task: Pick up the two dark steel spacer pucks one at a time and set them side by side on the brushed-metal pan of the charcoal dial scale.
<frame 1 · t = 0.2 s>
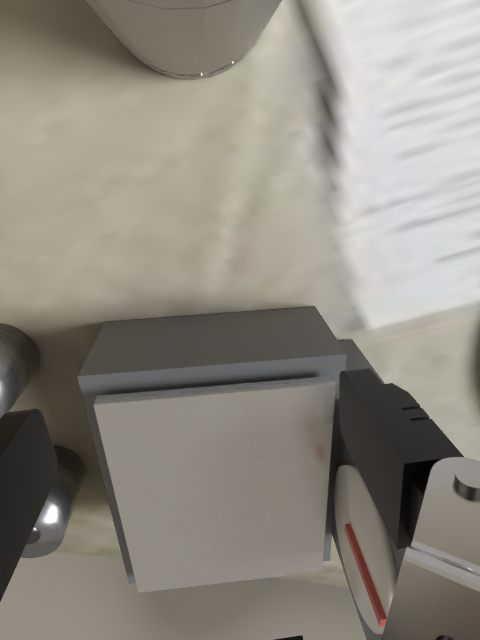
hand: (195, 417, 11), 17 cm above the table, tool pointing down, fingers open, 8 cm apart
steel spacer 1: (53, 468, 33), on the table
scale: (219, 415, 32), on the table
steel spacer 2: (2, 354, 29), on the table
scale pan: (224, 495, 25), point 8 cm above the table, slide at -0.1 cm
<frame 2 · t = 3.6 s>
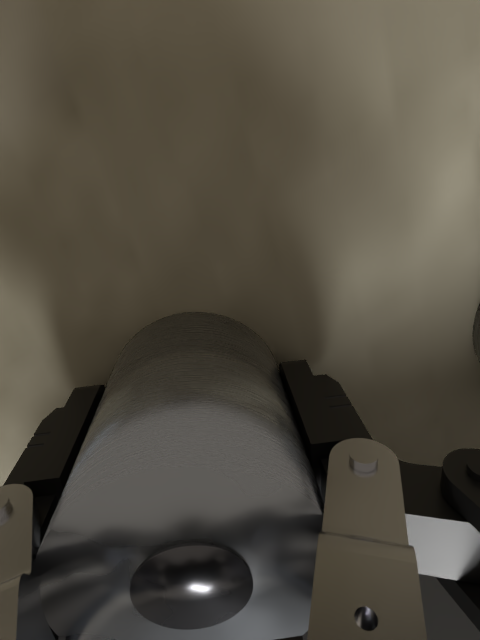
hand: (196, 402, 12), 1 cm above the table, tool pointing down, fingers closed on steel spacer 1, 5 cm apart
steel spacer 1: (197, 389, 12), on the table, touching gripper
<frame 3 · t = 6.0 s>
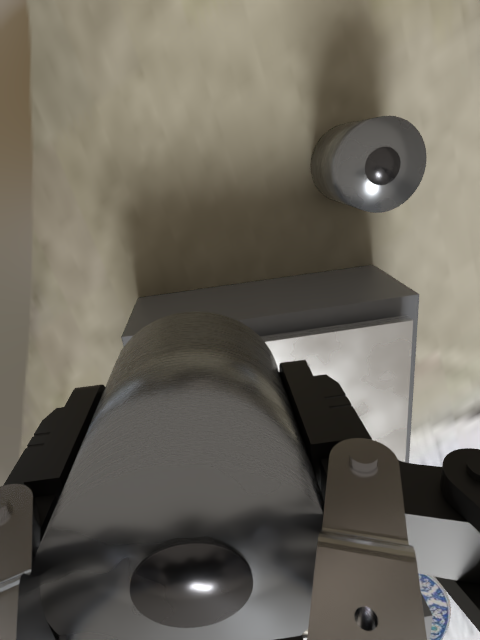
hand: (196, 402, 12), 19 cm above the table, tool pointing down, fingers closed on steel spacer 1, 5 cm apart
steel spacer 1: (197, 388, 12), point 18 cm above the table, touching gripper
scale: (266, 367, 33), on the table
steel spacer 2: (346, 163, 28), on the table
ceramic plate: (333, 615, 48), on the table
scale pan: (284, 427, 26), point 8 cm above the table, slide at -0.1 cm
when the fingers open (11 cm above the table, at t = 8.6 s): steel spacer 1 drops 2 cm, resting on scale pan.
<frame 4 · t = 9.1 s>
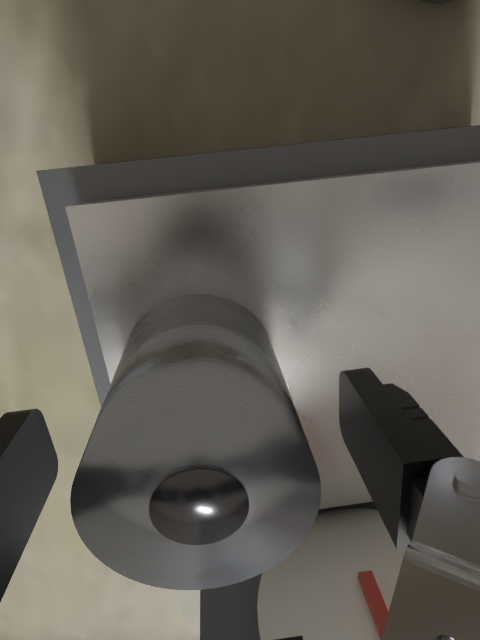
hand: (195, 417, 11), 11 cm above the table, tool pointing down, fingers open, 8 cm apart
steel spacer 1: (199, 363, 14), point 8 cm above the table, touching scale pan
scale: (293, 294, 22), on the table
scale pan: (338, 365, 15), point 8 cm above the table, slide at -0.2 cm, touching steel spacer 1
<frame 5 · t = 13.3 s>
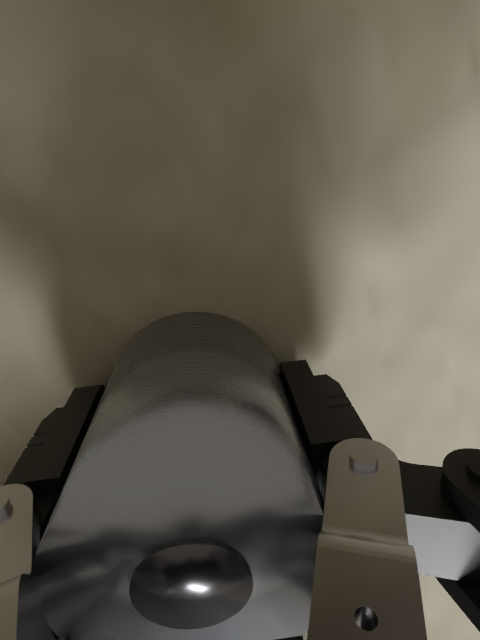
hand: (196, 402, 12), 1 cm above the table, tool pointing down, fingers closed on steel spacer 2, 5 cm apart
steel spacer 2: (197, 389, 12), on the table, touching gripper
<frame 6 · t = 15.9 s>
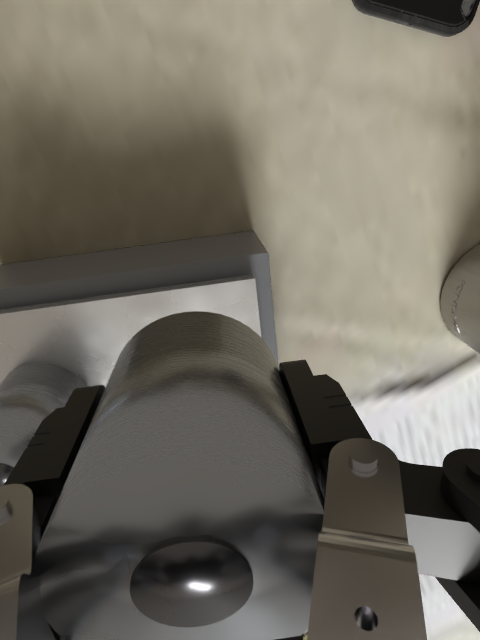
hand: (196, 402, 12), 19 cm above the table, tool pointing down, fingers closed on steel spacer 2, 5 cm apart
steel spacer 1: (45, 399, 23), point 8 cm above the table, touching scale pan
scale: (150, 341, 32), on the table
steel spacer 2: (197, 388, 12), point 19 cm above the table, touching gripper
scale pan: (135, 396, 24), point 8 cm above the table, slide at -0.2 cm, touching steel spacer 1
when the fingers open (11 cm above the table, at t = 18.4 s): steel spacer 2 drops 2 cm, resting on scale pan.
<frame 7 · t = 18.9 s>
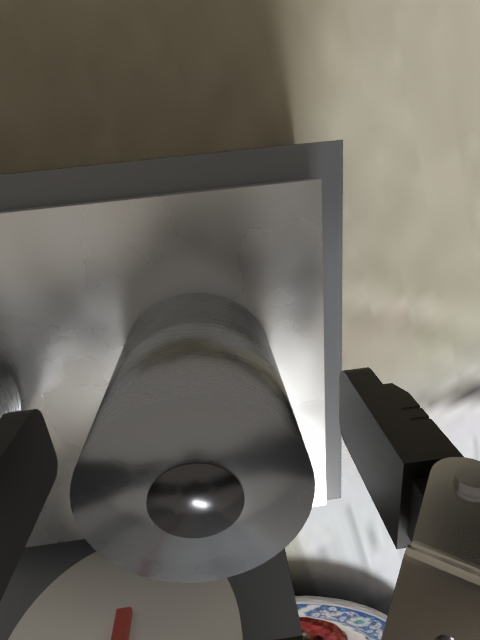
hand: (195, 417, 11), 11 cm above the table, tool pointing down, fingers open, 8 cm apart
scale: (134, 313, 22), on the table
steel spacer 2: (198, 361, 14), point 8 cm above the table, touching scale pan
scale pan: (101, 392, 14), point 8 cm above the table, slide at -0.4 cm, touching steel spacer 1, steel spacer 2
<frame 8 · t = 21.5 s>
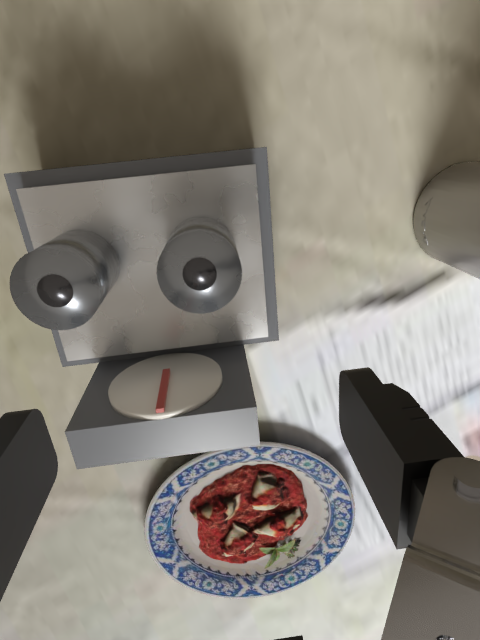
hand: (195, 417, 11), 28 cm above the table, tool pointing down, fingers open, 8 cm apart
steel spacer 1: (83, 264, 29), point 8 cm above the table, touching scale pan
scale: (164, 246, 37), on the table
steel spacer 2: (201, 251, 29), point 8 cm above the table, touching scale pan
ceramic plate: (249, 512, 51), on the table
scale pan: (155, 268, 30), point 8 cm above the table, slide at -0.3 cm, touching steel spacer 1, steel spacer 2
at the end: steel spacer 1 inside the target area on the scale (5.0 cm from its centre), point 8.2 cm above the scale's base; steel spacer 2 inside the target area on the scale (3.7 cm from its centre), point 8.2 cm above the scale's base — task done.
